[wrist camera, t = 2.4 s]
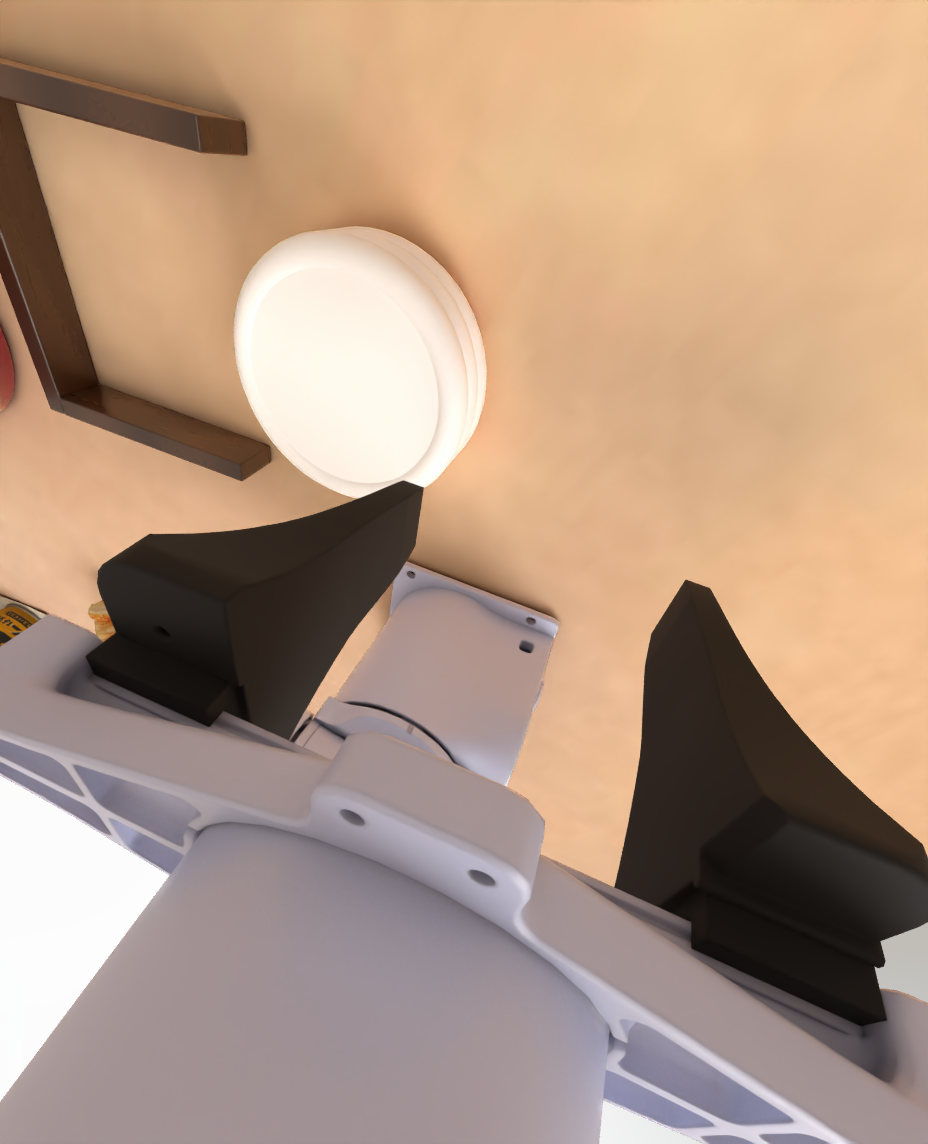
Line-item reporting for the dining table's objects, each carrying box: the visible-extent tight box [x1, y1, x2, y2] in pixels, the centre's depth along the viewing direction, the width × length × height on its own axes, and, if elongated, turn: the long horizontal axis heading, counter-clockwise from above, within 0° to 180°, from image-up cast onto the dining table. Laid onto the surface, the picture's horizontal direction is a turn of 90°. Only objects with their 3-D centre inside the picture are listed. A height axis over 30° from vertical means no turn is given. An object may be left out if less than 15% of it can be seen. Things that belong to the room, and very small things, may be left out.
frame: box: [0, 58, 271, 481], centre depth 23 cm, size 12×14×2 cm
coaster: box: [234, 226, 487, 499], centre depth 21 cm, size 10×10×4 cm
